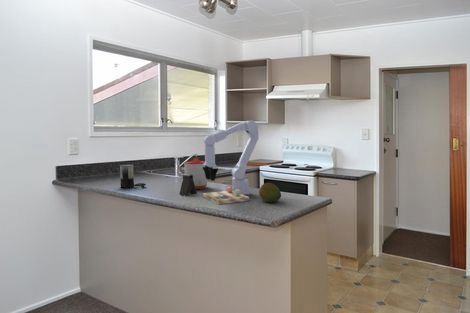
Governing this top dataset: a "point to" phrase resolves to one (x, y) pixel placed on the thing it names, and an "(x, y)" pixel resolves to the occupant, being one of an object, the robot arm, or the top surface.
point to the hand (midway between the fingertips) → (210, 179)
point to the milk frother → (128, 177)
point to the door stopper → (188, 185)
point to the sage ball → (238, 192)
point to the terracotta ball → (229, 189)
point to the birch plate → (230, 198)
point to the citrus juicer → (196, 172)
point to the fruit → (269, 192)
